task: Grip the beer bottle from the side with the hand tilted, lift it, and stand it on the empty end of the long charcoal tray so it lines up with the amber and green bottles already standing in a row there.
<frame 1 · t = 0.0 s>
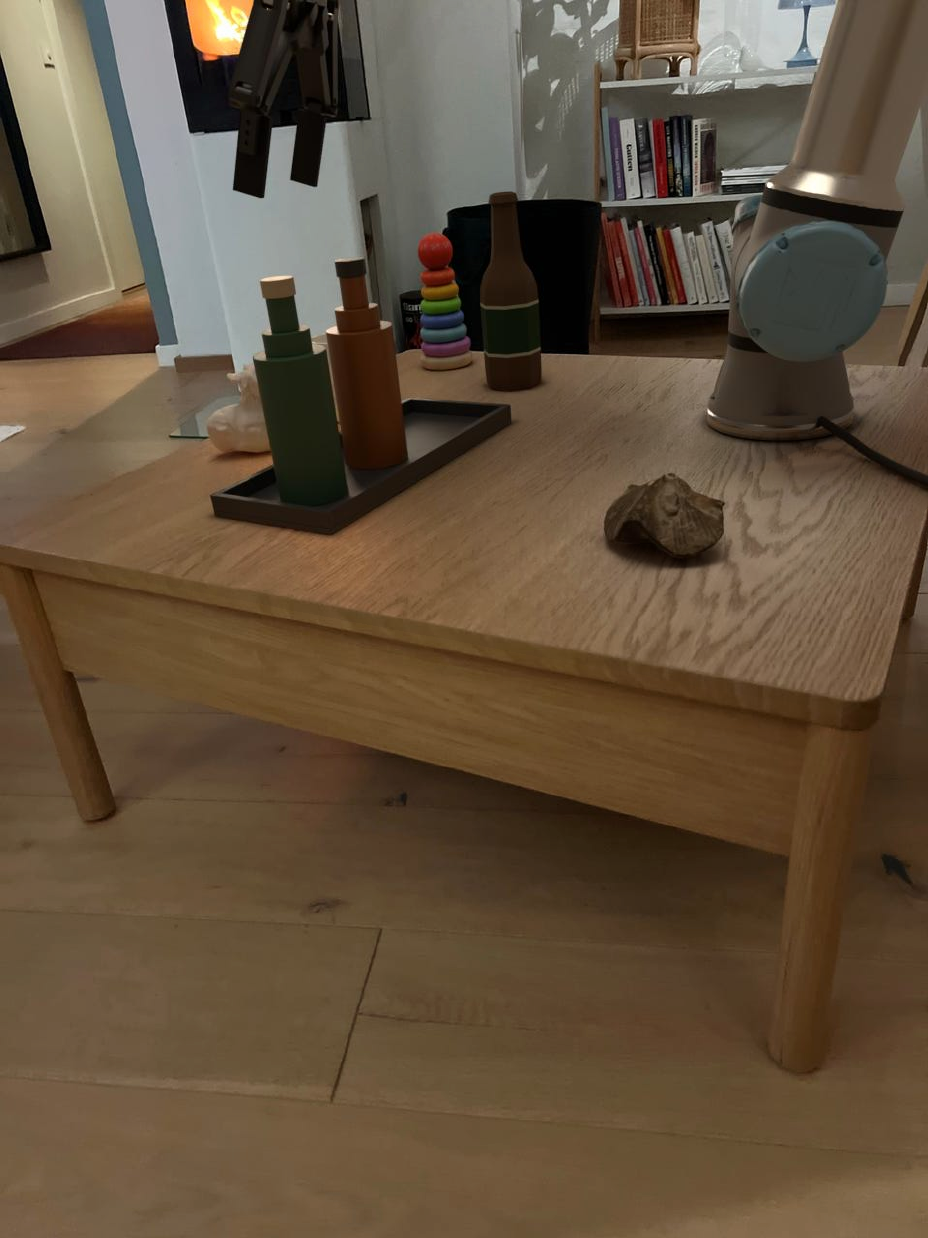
hand: (277, 188, 87), 28 cm above the table, tool tilted 20°, fingers open, 13 cm apart
stacking toy: (447, 366, 138), on the table
fossilized seashell: (660, 546, 74), on the table
bottle far: (314, 494, 90), point 1 cm above the table, touching tray
bottle mid: (377, 459, 99), point 1 cm above the table, touching tray
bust: (264, 450, 108), on the table
tray: (377, 464, 99), on the table
beer bottle: (514, 385, 125), on the table
white cup: (351, 416, 118), on the table
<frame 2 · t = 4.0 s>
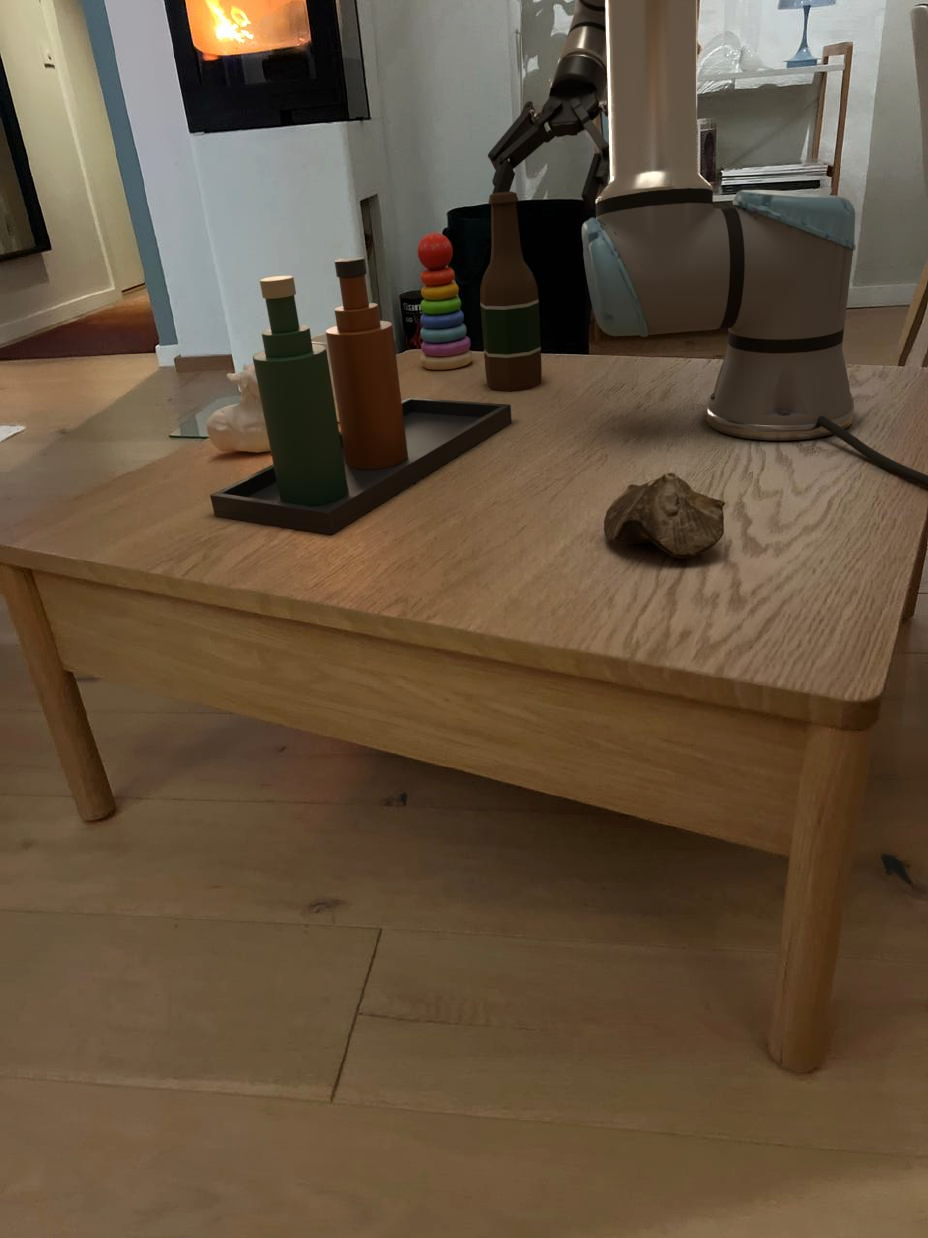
hand: (540, 204, 122), 22 cm above the table, tool tilted 45°, fingers open, 13 cm apart
nothing on the table moved.
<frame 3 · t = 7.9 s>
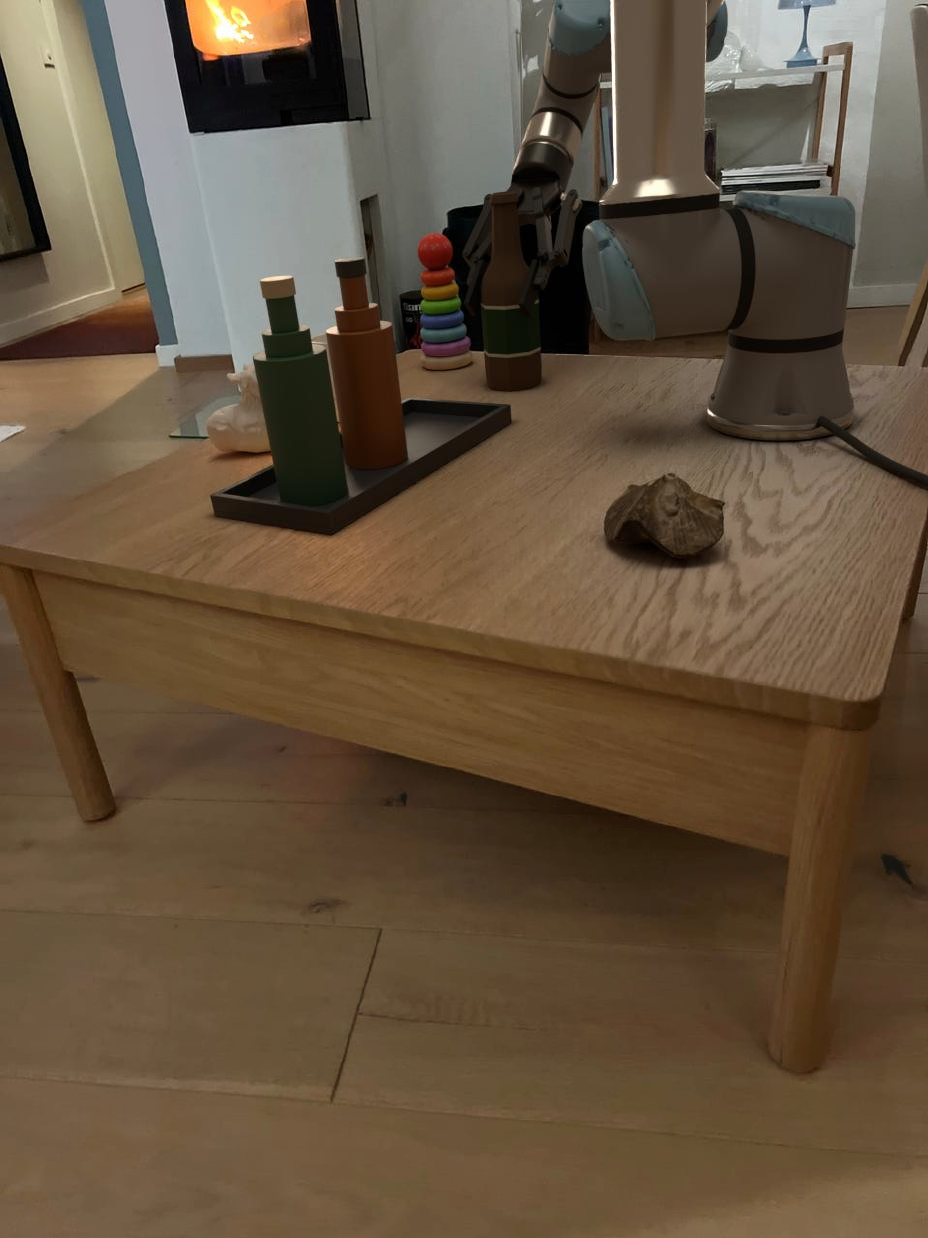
hand: (496, 309, 117), 11 cm above the table, tool tilted 45°, fingers closed on beer bottle, 7 cm apart
beer bottle: (514, 385, 125), on the table, touching gripper
everything else where it was.
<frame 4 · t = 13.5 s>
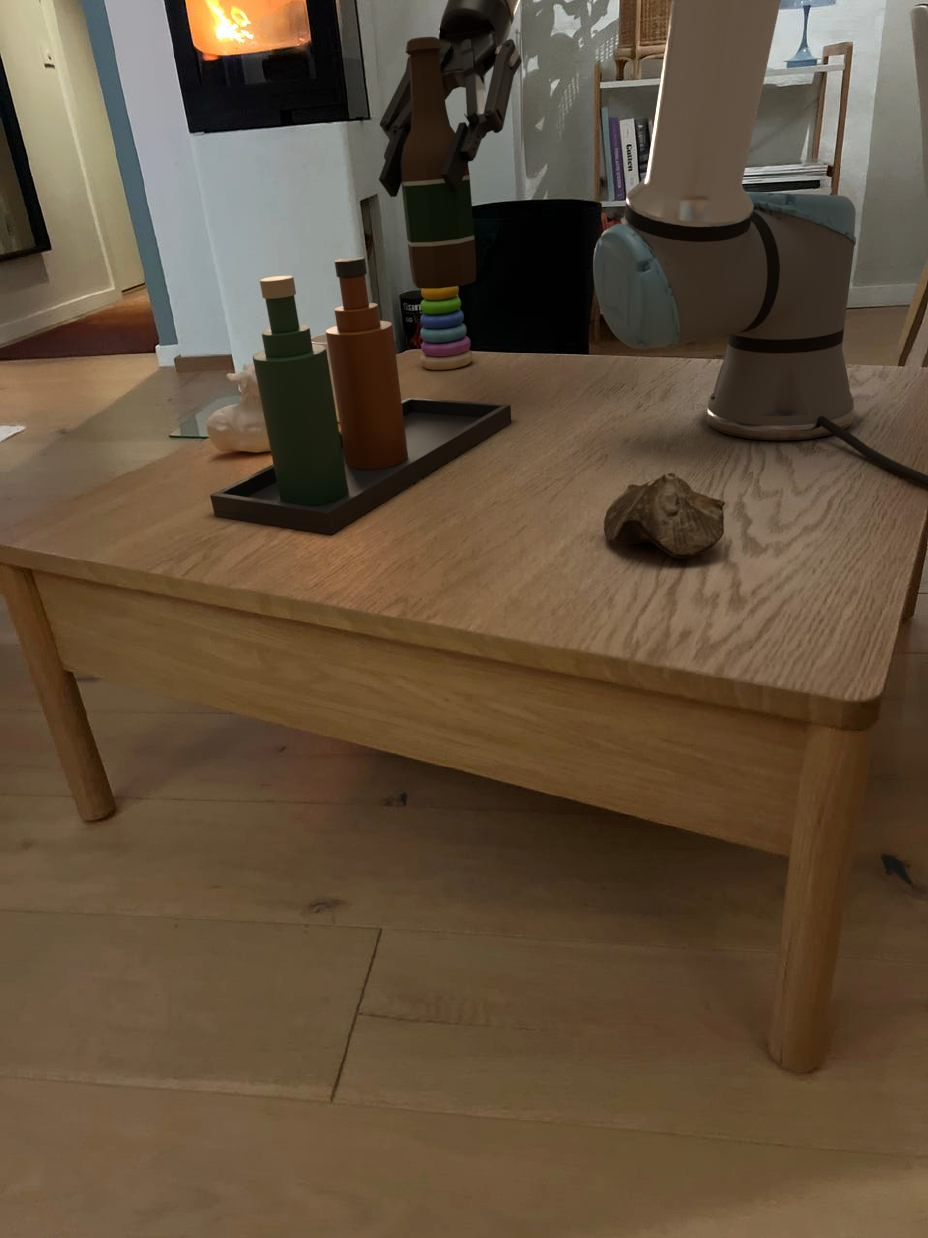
hand: (418, 185, 97), 26 cm above the table, tool tilted 45°, fingers closed on beer bottle, 7 cm apart
beer bottle: (444, 285, 105), point 16 cm above the table, touching gripper
everything else where it was.
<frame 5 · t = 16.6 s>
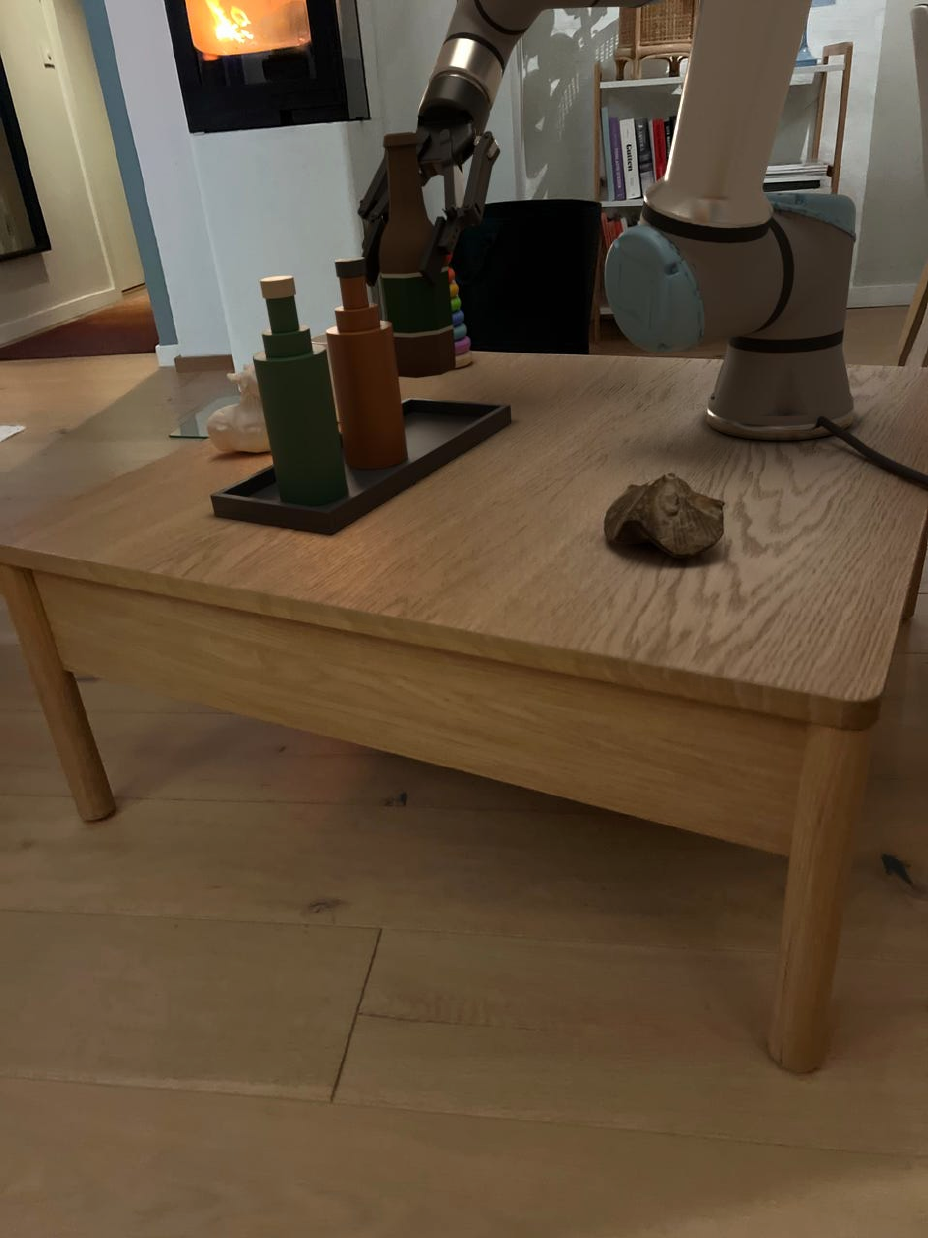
hand: (395, 278, 96), 18 cm above the table, tool tilted 45°, fingers closed on beer bottle, 7 cm apart
beer bottle: (424, 371, 104), point 7 cm above the table, touching gripper
everything else where it was.
when the fingers open (11 cm above the table, at t = 18.9 s): beer bottle stays where it is, resting on tray.
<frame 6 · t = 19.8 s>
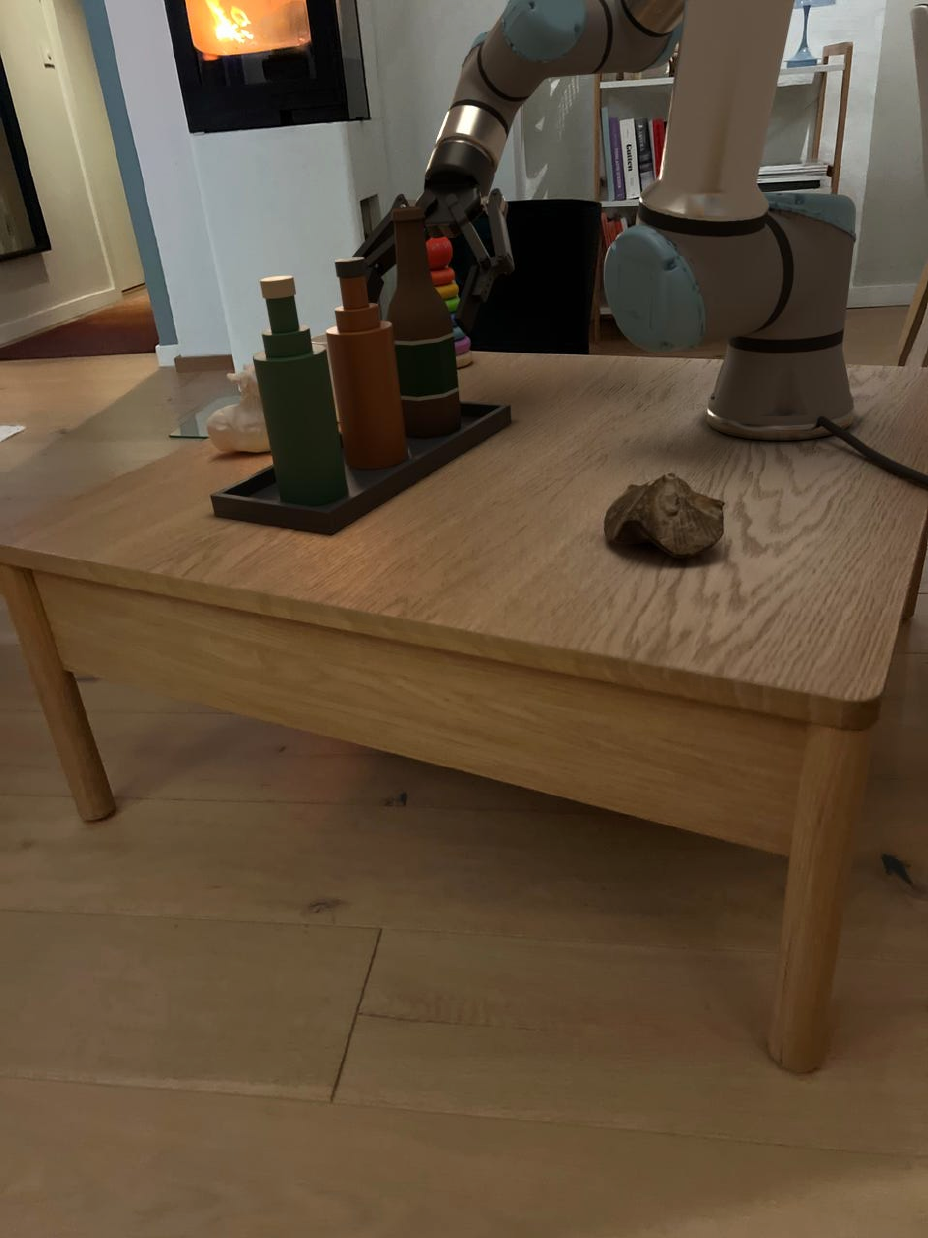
hand: (408, 325, 99), 13 cm above the table, tool tilted 45°, fingers open, 13 cm apart
beer bottle: (430, 430, 107), resting on tray
everything else where it was.
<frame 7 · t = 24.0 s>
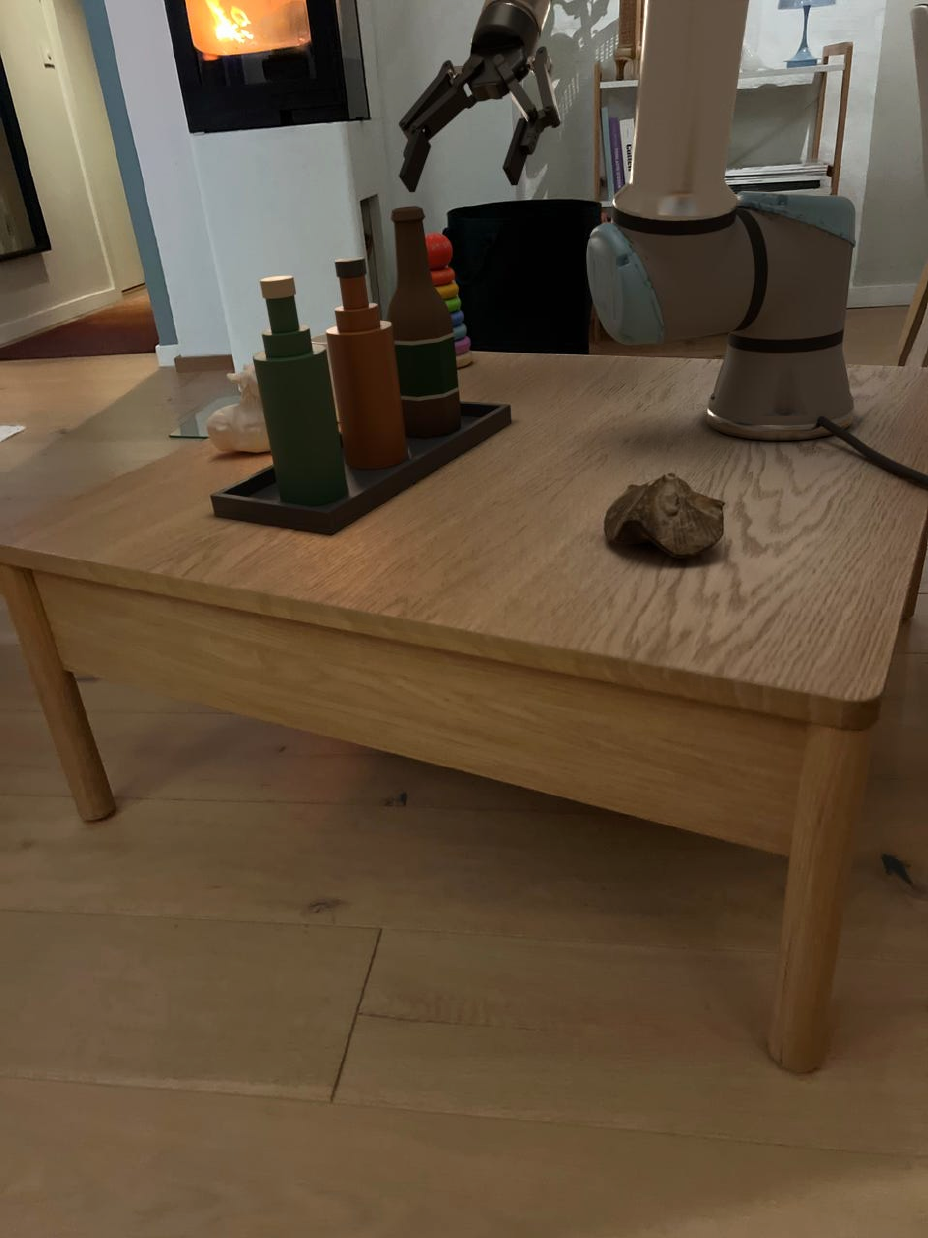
hand: (456, 180, 102), 26 cm above the table, tool tilted 45°, fingers open, 13 cm apart
nothing on the table moved.
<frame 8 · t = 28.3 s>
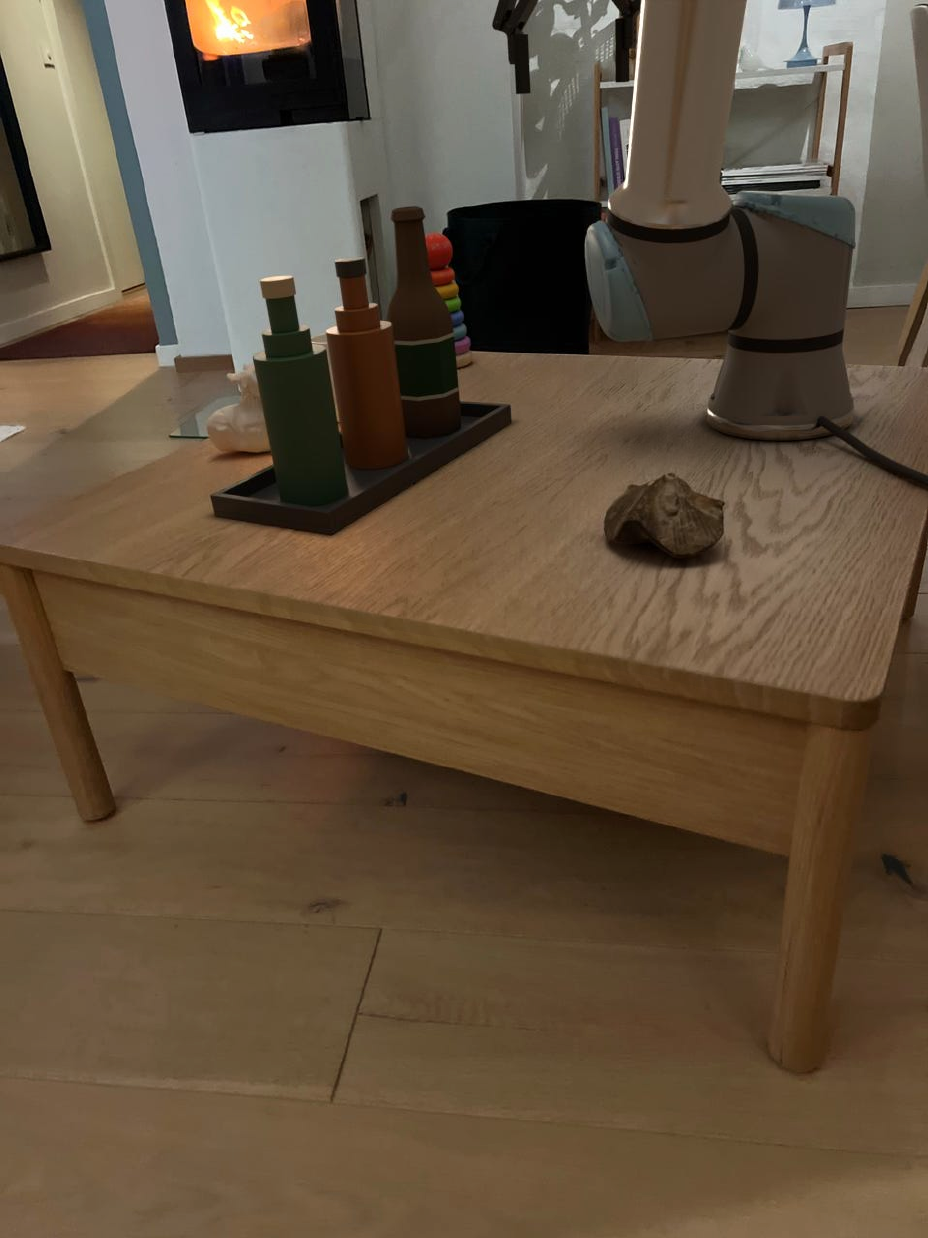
hand: (571, 88, 114), 35 cm above the table, tool pointing down, fingers open, 13 cm apart
nothing on the table moved.
at the end: beer bottle 0.1 cm from the target spot in the tray, point 0.4 cm above the tray's base; beer bottle tilted 0°; beer bottle 11.1 cm from the bottle mid (horizontally) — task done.
